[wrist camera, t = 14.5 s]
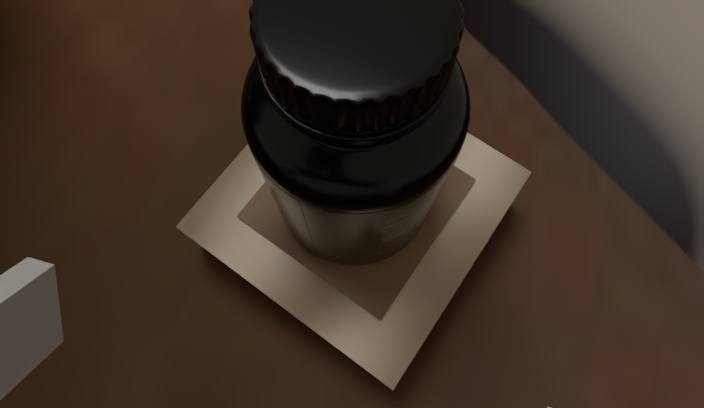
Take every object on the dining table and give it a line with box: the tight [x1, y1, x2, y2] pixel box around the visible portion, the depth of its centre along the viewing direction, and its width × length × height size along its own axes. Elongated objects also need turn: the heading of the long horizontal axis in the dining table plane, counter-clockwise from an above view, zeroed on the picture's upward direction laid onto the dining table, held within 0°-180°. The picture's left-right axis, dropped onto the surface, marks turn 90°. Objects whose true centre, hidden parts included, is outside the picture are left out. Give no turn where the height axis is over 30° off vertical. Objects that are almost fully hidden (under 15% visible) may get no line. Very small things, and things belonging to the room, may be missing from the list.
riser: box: [176, 133, 531, 390], centre depth 23 cm, size 12×12×4 cm
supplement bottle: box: [241, 0, 471, 266], centre depth 16 cm, size 7×7×12 cm
